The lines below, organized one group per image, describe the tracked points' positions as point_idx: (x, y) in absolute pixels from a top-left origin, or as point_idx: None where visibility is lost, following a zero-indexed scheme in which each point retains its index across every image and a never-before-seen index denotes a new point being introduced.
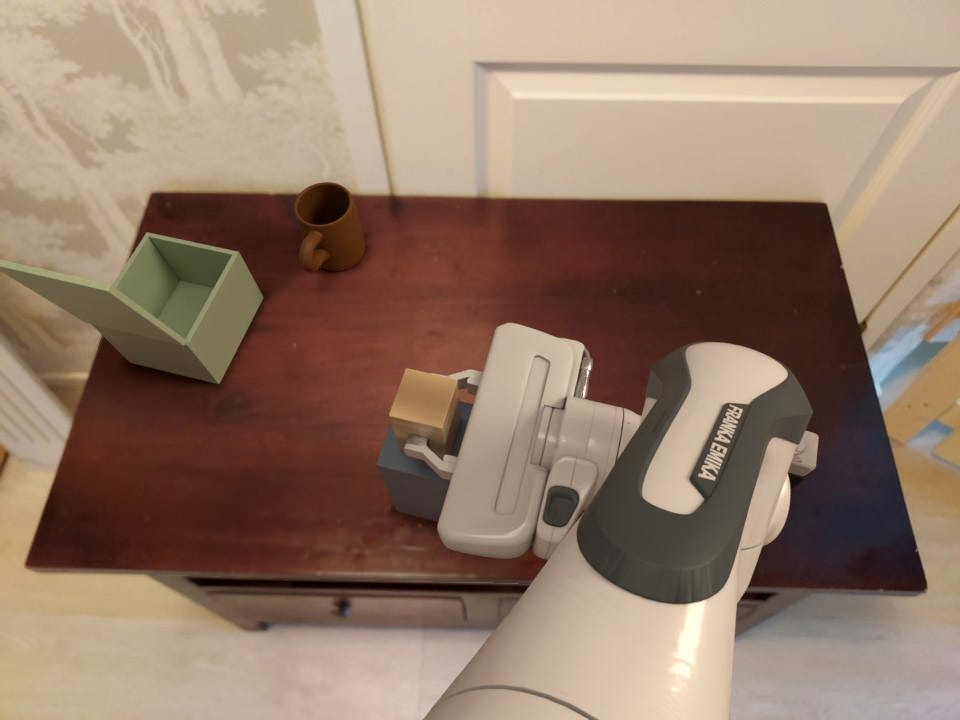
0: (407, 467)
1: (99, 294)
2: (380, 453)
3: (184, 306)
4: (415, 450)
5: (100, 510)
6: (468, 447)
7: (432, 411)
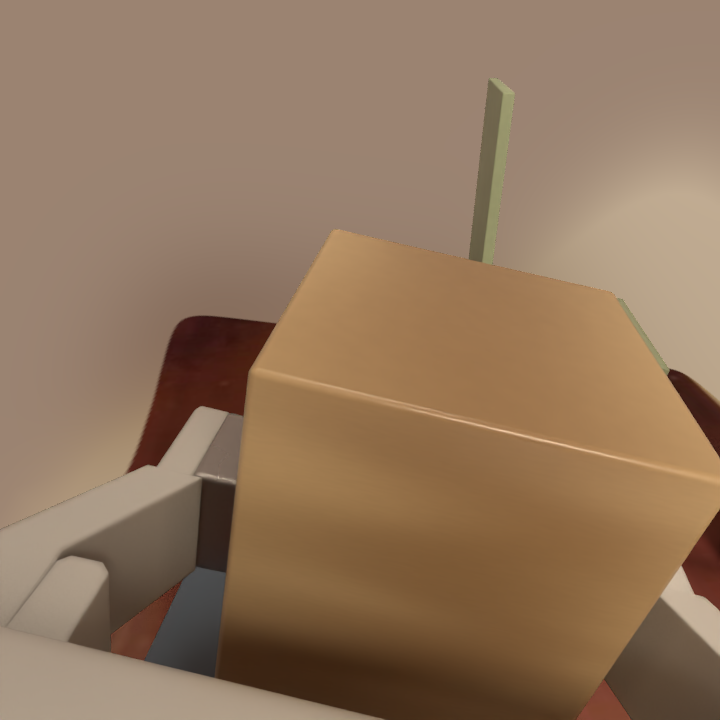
0: (200, 597)
1: (496, 119)
2: None
3: None
4: (179, 434)
5: (239, 348)
6: (89, 715)
7: (391, 339)
